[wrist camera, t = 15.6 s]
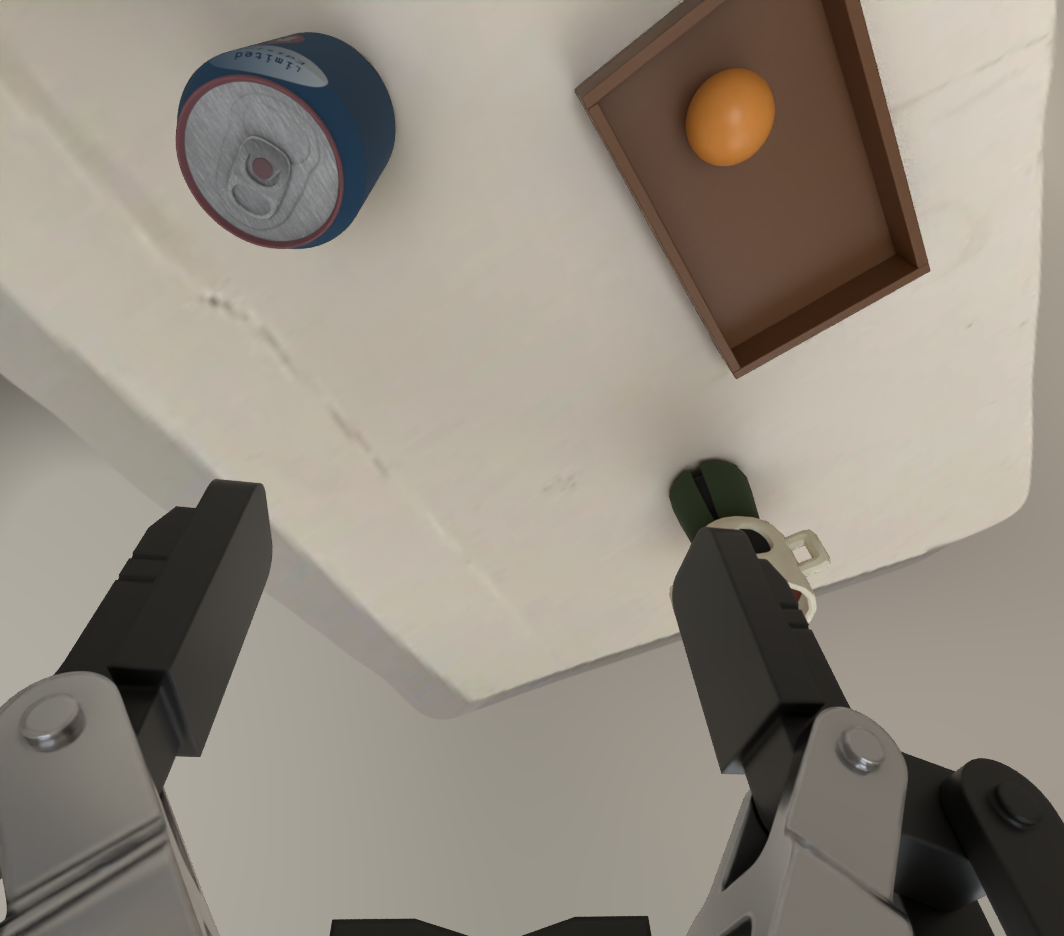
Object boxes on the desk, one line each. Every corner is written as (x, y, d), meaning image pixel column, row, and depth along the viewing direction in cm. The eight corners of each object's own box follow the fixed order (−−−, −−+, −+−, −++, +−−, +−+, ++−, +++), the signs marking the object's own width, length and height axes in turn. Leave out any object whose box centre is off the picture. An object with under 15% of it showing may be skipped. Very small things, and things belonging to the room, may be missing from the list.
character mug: (755, 426, 45) (832, 553, 35) (783, 485, 49) (859, 614, 39) (627, 488, 48) (662, 621, 38) (663, 538, 52) (703, 670, 42)
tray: (573, 89, 31) (580, 98, 28) (802, -96, 27) (833, -104, 24) (722, 356, 41) (736, 379, 39) (902, 252, 37) (931, 271, 35)
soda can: (288, -6, 28) (186, -1, 18) (422, 92, 30) (392, 140, 21) (240, 134, 31) (134, 198, 22) (364, 211, 34) (316, 297, 25)
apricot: (663, 100, 31) (683, 114, 27) (739, 43, 29) (769, 50, 26) (697, 172, 33) (719, 193, 30) (769, 122, 32) (800, 138, 28)
